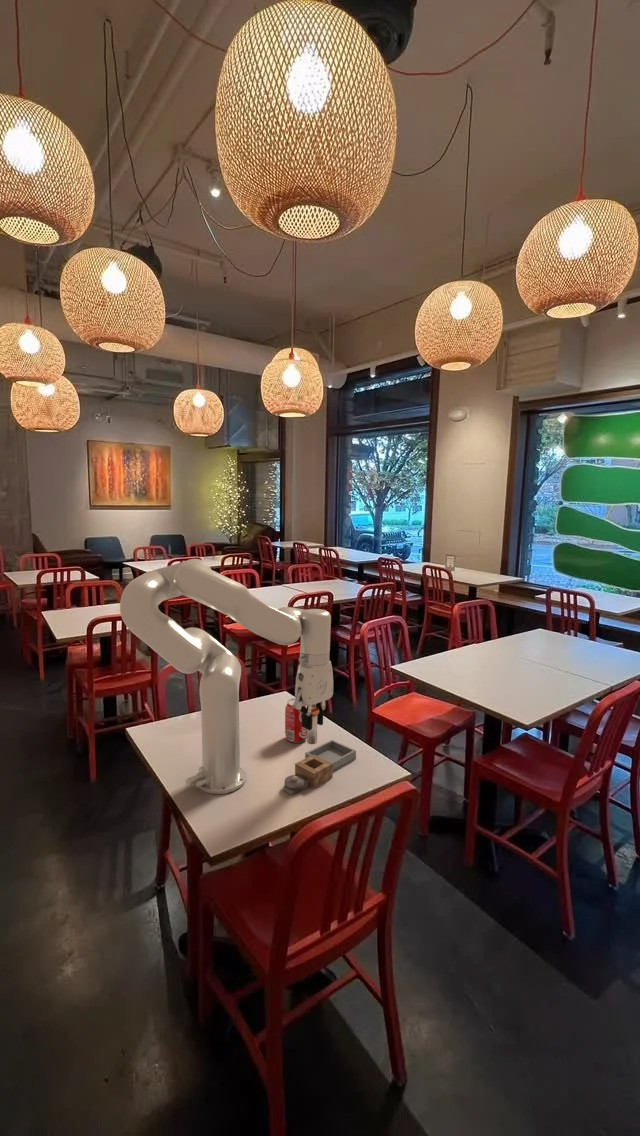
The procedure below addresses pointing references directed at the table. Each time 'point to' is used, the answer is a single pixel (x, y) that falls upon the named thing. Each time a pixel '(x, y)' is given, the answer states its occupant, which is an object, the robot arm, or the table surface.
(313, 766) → the block
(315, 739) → the lock pin
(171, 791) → the table surface
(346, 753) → the tray
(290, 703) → the soda can
